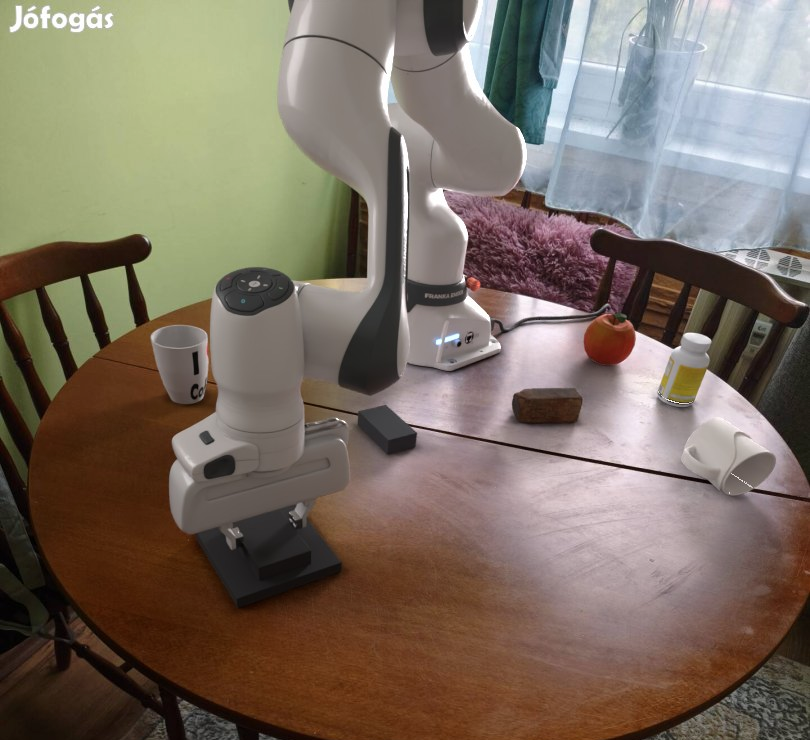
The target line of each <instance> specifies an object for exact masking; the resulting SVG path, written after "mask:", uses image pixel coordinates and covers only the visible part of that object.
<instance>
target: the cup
mask: <svg viewBox="0 0 810 740" xmlns="http://www.w3.org/2000/svg"><path fill="white" fill-rule="evenodd" d="M208 337H209V336H208V333H207V332H206V331H205V330H203V328H200V327H197V326H193V325H186V324H172V325H167V326H163V327H160V328H157V329H156V330H154V331H153V332H152V333H151V334H150V342H151V346H152V350H153V355H154V359H155V364H156V367H157V370H158V372H159V375H160V376H159V377H160V380H161V381H162V385H163V386H164V388H165V390H166V392H167V394H168V396H169V399H170V400H171V401H172V402H173V403H176V404H179V405H193V404H197V403H199V402H201V401H202V400H203V399H204V396H205V392H206V387H207V383H208V375H209V374H208V372H209V340H208V339H209V338H208Z"/></svg>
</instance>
